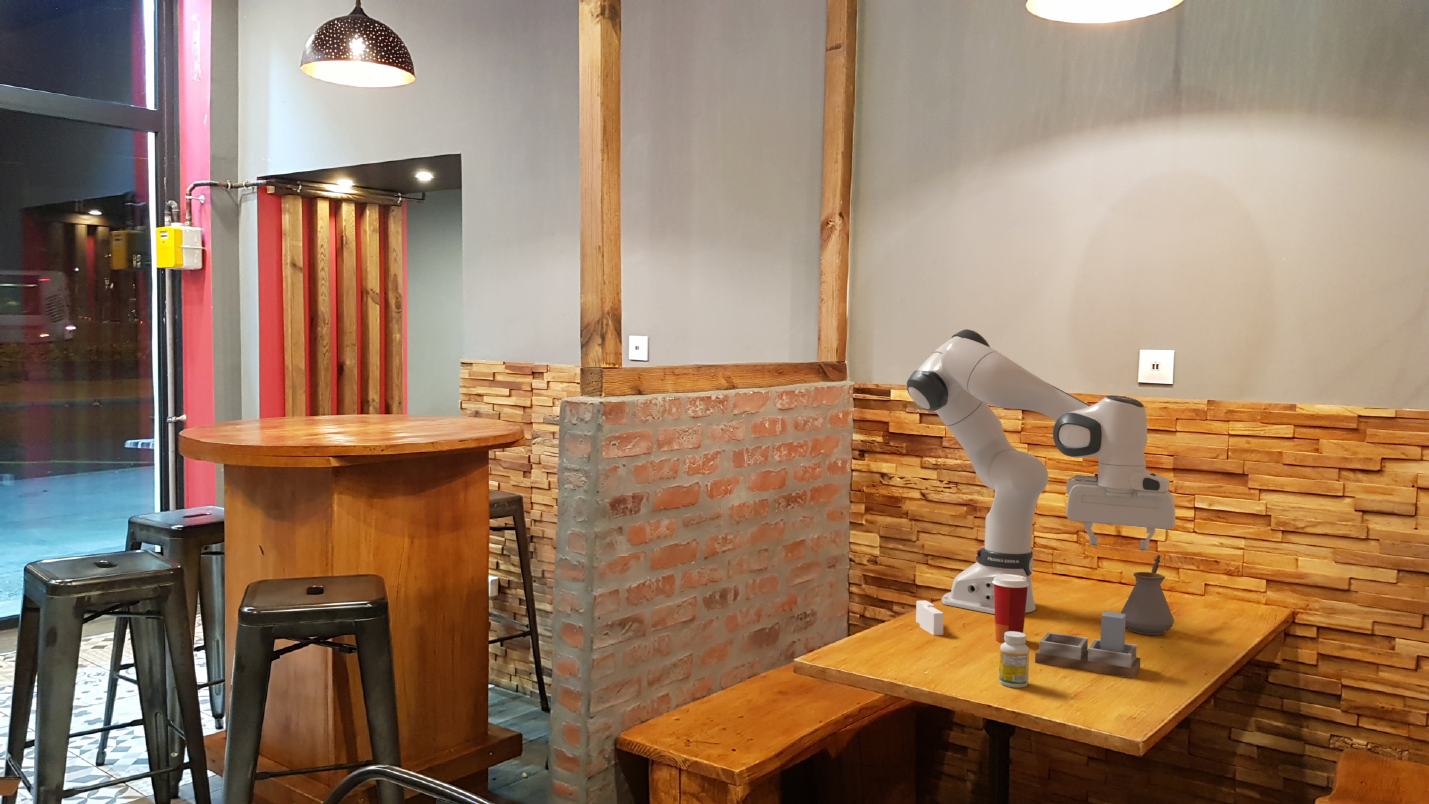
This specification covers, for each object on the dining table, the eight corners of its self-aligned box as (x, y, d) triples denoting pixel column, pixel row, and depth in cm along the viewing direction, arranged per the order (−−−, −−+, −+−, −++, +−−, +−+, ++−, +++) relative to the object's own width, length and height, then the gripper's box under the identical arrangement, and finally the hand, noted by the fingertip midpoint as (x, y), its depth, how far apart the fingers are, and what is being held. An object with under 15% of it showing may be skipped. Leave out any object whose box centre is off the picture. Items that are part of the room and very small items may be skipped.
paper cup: (1028, 638, 231) (1030, 575, 231) (1026, 647, 224) (1028, 582, 223) (991, 634, 234) (993, 572, 233) (988, 643, 227) (990, 579, 226)
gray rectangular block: (1099, 660, 209) (1101, 615, 209) (1103, 655, 213) (1104, 611, 212) (1120, 663, 207) (1122, 618, 207) (1123, 658, 211) (1125, 614, 210)
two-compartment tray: (1034, 662, 214) (1035, 640, 213) (1043, 652, 221) (1044, 631, 220) (1134, 678, 204) (1135, 655, 204) (1140, 667, 211) (1141, 645, 211)
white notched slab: (948, 641, 230) (949, 615, 229) (897, 634, 234) (898, 609, 234) (962, 624, 243) (962, 600, 243) (913, 618, 248) (914, 594, 248)
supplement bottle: (1020, 690, 196) (1022, 639, 196) (994, 684, 200) (995, 634, 199) (1032, 683, 200) (1034, 633, 200) (1006, 677, 204) (1007, 628, 203)
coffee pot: (1169, 640, 232) (1172, 573, 231) (1115, 632, 238) (1117, 566, 237) (1182, 619, 250) (1185, 557, 249) (1131, 612, 256) (1134, 551, 255)
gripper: (1063, 475, 210) (1061, 544, 211) (1174, 484, 200) (1171, 555, 201) (1069, 472, 216) (1067, 539, 217) (1178, 480, 206) (1175, 550, 207)
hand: (1118, 547), depth 209 cm, fingers open, 8 cm apart
